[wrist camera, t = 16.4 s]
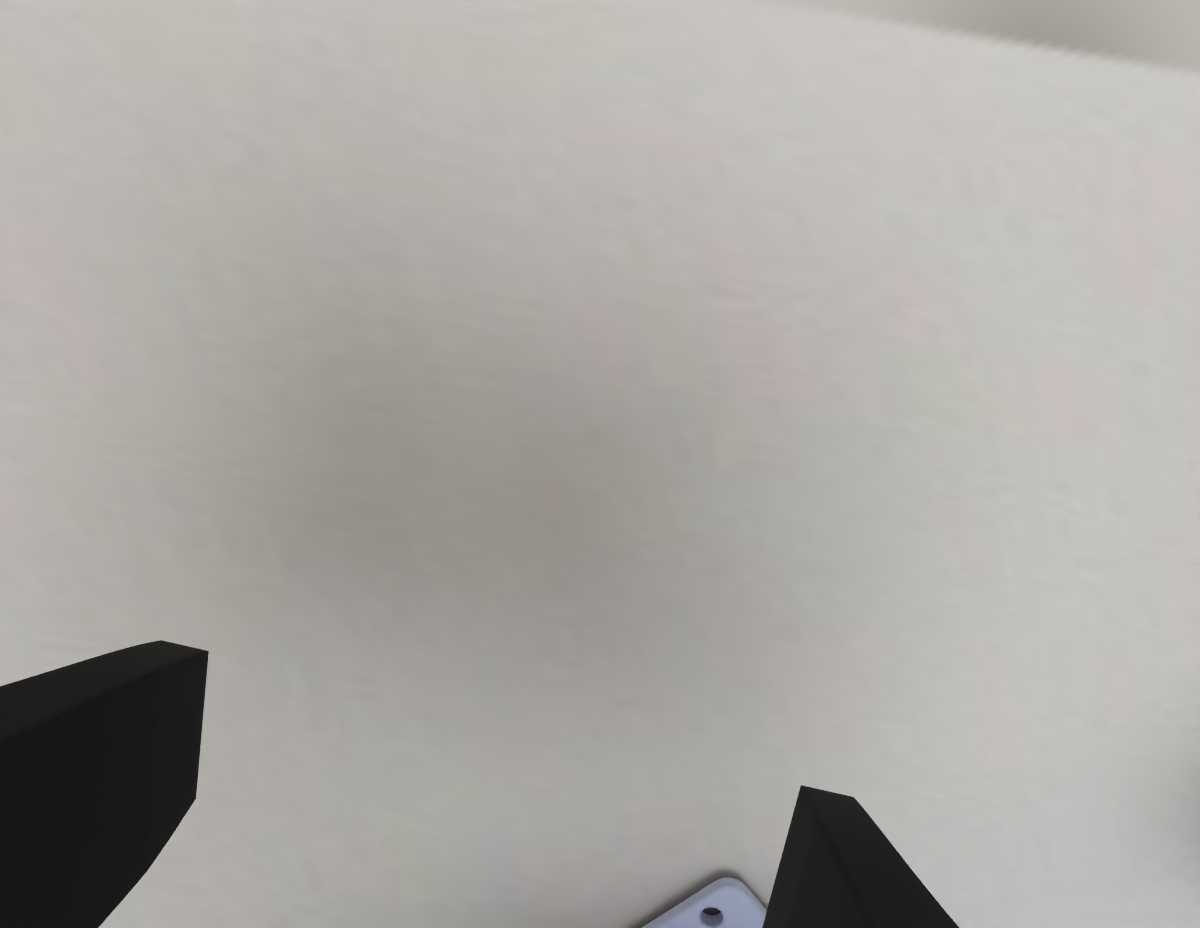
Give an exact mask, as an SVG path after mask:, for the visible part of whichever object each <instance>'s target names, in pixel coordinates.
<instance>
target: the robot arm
mask: <svg viewBox="0 0 1200 928" xmlns="http://www.w3.org/2000/svg"><path fill="white" fill-rule="evenodd" d="M207 663H208V651H205V650H201V649H197V648H192V647H188V646H183V645H179V644H174V643H170V642H166V641H161V640H160V641H155V642H150V643H145V644H141V645H137V646H133V647H129V648H125V649H122V650H118V651H115V652H111V653H108V654H104V655H101V656H98V657H94V658H91V659H88V660H85V661H81V662H78V663H75V664H72V665H69V666H65V667H62V668H59V669H56V670H52V671H49V672H46V673H43V674H39V675H36V676H33V677H30V678H27V679H23V680H20V681H17V682H14V683H10V684H7V685H4V686H1V687H0V928H98V927H99V926H100V925H101V924H102V923H103V922H104V920H105V919H106V918H107V917H108V916H109V915H110V913H111V912H112V911H113V910H114V909H115V908H116V907H117V905H118V904H119V903H120V902H121V901H122V900H123V899H124V897H125V896H126V895H127V894H128V893H129V892H130V890H131V889H132V888H133V887H134V886H135V885H136V883H137V882H138V881H139V880H140V879H141V878H142V876H143V875H144V874H145V873H146V872H147V870H148V869H149V868H150V866H151V865H152V863H153V862H154V860H155V859H156V858H157V856H158V855H159V853H160V852H161V850H162V849H163V847H164V846H165V845H166V843H167V842H168V840H169V839H170V837H171V836H172V834H173V833H174V831H175V830H176V828H177V827H178V825H179V824H180V822H181V820H182V819H183V817H184V816H185V814H186V813H187V811H188V810H189V808H190V807H191V805H192V804H193V802H194V800H195V799H196V790H197V778H198V767H199V755H200V744H201V732H202V720H203V709H204V697H205V686H206V674H207ZM708 907H713V908H717V909H718V910H720V911H721V912H720V913H719V914H717V915H714V916H712V915H707V914H706V913H704V912H703V910H704V909H705V908H708ZM642 928H959V927H958V926H957V925H956V923H955V922H954V921H953V920H952V919H951V918H950V916H949V915H948V914H947V913H946V912H945V910H944V909H943V908H942V907H941V906H940V904H939V903H938V902H937V901H936V899H935V898H934V897H933V896H932V895H931V893H930V892H929V891H928V890H927V888H926V887H925V886H924V885H923V883H922V882H921V881H920V880H919V878H918V877H917V876H916V875H915V873H914V872H913V871H912V870H911V868H910V867H909V866H908V865H907V863H906V862H905V861H904V859H903V858H902V857H901V856H900V854H899V853H898V852H897V851H896V849H895V848H894V847H893V845H892V844H891V843H890V842H889V840H888V839H887V838H886V836H885V835H884V834H883V833H882V831H881V830H880V829H879V827H878V826H877V825H876V824H875V822H874V821H873V820H872V819H871V817H870V816H869V815H868V814H867V812H866V811H865V810H864V809H863V807H862V806H861V805H860V804H859V803H858V802H857V800H856V799H855V798H854V797H850V796H846V795H842V794H837V793H833V792H828V791H824V790H820V789H815V788H811V787H806V786H802V785H801V787H800V791H799V795H798V798H797V802H796V806H795V809H794V813H793V817H792V820H791V824H790V828H789V831H788V835H787V839H786V842H785V846H784V850H783V853H782V857H781V861H780V864H779V868H778V872H777V875H776V879H775V883H774V886H773V890H772V894H771V897H770V901H769V905H768V908H767V910H766V909H765V907H764V906H763V905H762V904H761V903H760V902H759V900H758V899H757V898H756V897H755V896H754V895H753V893H752V892H751V891H750V890H749V889H748V888H747V886H746V885H745V884H743V883H742V882H741V881H740V880H737V879H734V878H721V879H719V880H716V881H714V882H713V883H711V884H709V885H708V886H706V887H705V888H703V889H702V890H700V891H698V892H697V893H695V894H694V895H692V896H691V897H689V898H687V899H686V900H684V901H683V902H681V903H680V904H678V905H676V906H675V907H673V908H672V909H670V910H669V911H667V912H665V913H664V914H662V915H661V916H659V917H658V918H656V919H654V920H653V921H651V922H650V923H648V924H647V925H645V926H643V927H642Z"/></svg>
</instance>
